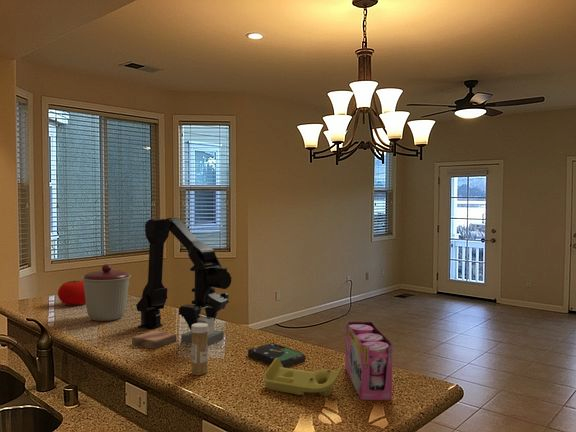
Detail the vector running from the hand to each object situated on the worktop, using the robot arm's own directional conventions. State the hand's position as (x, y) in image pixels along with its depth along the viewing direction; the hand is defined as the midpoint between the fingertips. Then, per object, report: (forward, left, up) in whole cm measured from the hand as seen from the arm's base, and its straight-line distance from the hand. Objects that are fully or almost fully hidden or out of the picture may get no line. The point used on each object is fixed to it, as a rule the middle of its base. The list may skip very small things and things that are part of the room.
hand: (202, 331), depth 167 cm
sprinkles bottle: (+17, -25, -3) cm, 30 cm away
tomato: (-80, +17, -3) cm, 82 cm away
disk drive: (+30, -4, -4) cm, 31 cm away
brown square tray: (-12, -10, -3) cm, 16 cm away
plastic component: (+47, -22, -4) cm, 52 cm away
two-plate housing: (0, 0, 0) cm, 0 cm away
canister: (-50, +6, -3) cm, 50 cm away
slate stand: (0, 0, -3) cm, 3 cm away
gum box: (+60, -10, -3) cm, 61 cm away
